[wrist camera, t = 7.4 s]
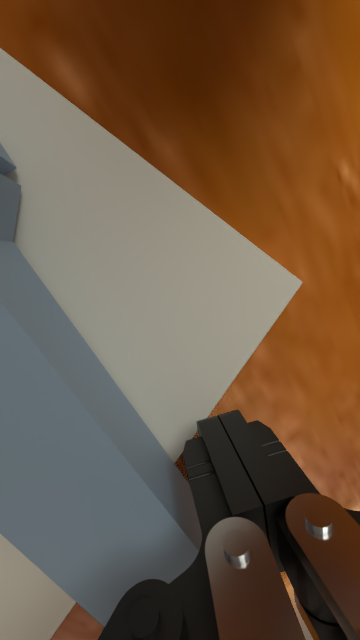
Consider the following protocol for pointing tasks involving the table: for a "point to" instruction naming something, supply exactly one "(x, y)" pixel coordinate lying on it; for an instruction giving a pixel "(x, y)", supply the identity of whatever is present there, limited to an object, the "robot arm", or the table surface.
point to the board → (126, 288)
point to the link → (78, 451)
